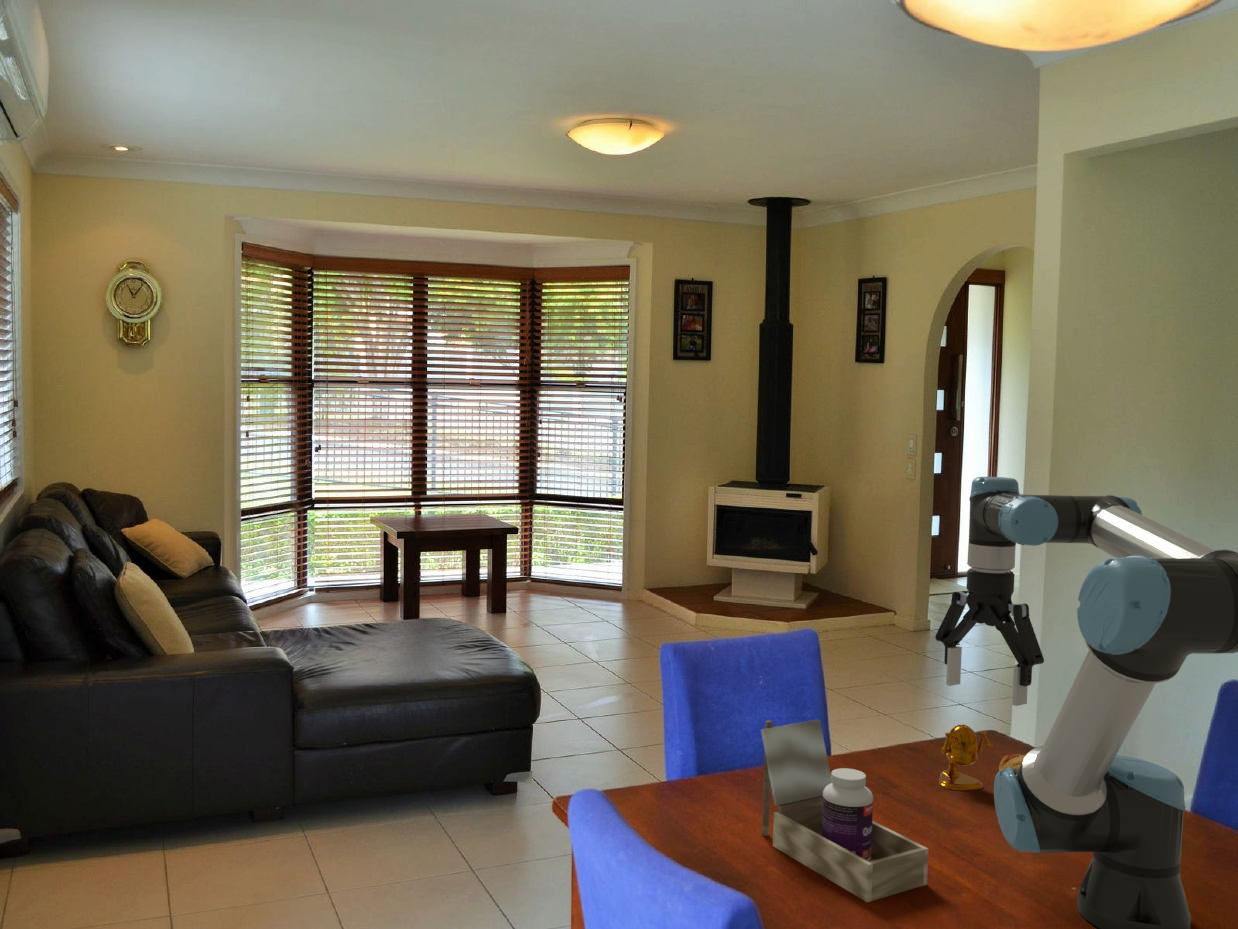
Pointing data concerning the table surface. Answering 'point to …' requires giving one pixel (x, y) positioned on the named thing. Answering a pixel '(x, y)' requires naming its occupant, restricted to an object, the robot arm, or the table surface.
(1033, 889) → the table surface
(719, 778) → the table surface
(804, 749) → the grey wooden hinged box
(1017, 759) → the croissant
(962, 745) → the figurine
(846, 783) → the pill bottle
